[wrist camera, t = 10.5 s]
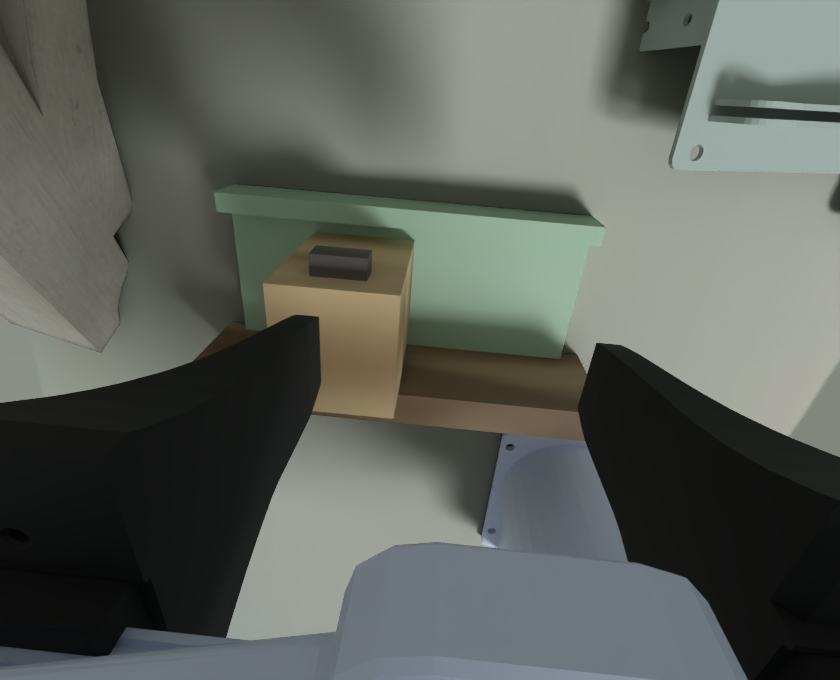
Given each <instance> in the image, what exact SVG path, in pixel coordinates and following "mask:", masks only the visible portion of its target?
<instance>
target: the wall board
mask: <svg viewBox="0 0 840 680" xmlns="http://www.w3.org/2000/svg"><path fill="white" fill-rule="evenodd" d="M258 332H260V330H250V329H246V327H245V323H235V322H231V323H230V324H229V325H228V326H227V327H226V328H225V329H224V330H223V331H222V332H221V333H220V334H219V335H218V336H217V337H216V338H215V339H214V340H213V341H212V342H211V343H210V344H209V345H208V346H207V347H206V348H205V350H204V351H203V352H202V353H201V354H200V355H199V356H198V357H197V358H196V359H195V360H194V361H196V360H199V359H201V358H204V357H206V356H209V355H211V354H213V353H216V352H218V351H220V350H222V349H224V348H227V347H229V346H231V345H233V344H236V343H238V342H240V341H242V340H244V339H246V338H248V337H250V336H252V335H254V334H256V333H258ZM586 377H587V374H586V372H585V370H584V368H583V366H582V364H581V362H580V360H579V358H578V356H577V355H572V354H561V358H560V359H554V358H544V357H533V356H523V355H512V354H502V353H491V352H481V351H470V350H460V349H449V348H439V347H428V346H418V345H407V347H406V352H405V358H404V363H403V369H402V375H401V380H400V386H399V391H398V397H397V402H396V408H395V413H394V419H390V418H380V417H369V416H359V415H348V414H338V413H328V412H317V411H312V413H311V414H312V415H322V416H332V417H342V418H352V419H363V420H373V421H383V422H393V423H403V424H413V425H424V426H434V427H444V428H454V429H464V430H474V431H485V432H495V433H505V434H515V435H525V436H535V437H546V438H556V439H566V440H576V441H585V439H584V435H583V431H582V427H581V423H580V418H579V413H578V408H577V407H578V404H579V401H580V397H581V394H582V390H583V387H584V384H585V380H586Z"/></svg>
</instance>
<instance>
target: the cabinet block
mask: <svg viewBox="0 0 840 680" xmlns="http://www.w3.org/2000/svg"><path fill="white" fill-rule="evenodd" d="M414 243H415V240H405V239H394V238H383V237H371V236H360V235H349V234H337V233H326V232H315V233H314V234H313V235H311V236H310V237H309V238H308V239H307V240H306V241H305V242H304V243H303V244H302V245H301V246H300V247H299V248H298V249H297V250H296V251H295V252H294V253H293V254H292V255H291V256H290V257H289V258H288V259H287V260H286V261H285V262H284V263H283V264H282V265H281V266H280V267H279V268H278V269H277V270H276V271H275V272H274V273H273V274H272V275H271V276H270V277H269V278H268V279H267V280H266V281H265V282H264V283H263V291H264V301H265V311H266V321H267V328H268V327H270V326H272V325H274V324H276V323H278V322H280V321H282V320H284V319H286V318H288V317H290V316H293V315H307V316H317V317H319V329H320V359H321V385H320V389H319V392H318V395H317V399H316V402H315V405H314V408H313V411H317V412H328V413H338V414H348V415H359V416H369V417H380V418H390V419H394V413H395V408H396V402H397V397H398V391H399V386H400V380H401V375H402V369H403V363H404V358H405V352H406V347H407V341H408V331H409V316H410V302H411V287H412V272H413V257H414Z"/></svg>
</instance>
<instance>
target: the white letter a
mask: <svg viewBox="0 0 840 680" xmlns="http://www.w3.org/2000/svg"><path fill="white" fill-rule="evenodd" d="M131 210H132V197H131V194H130V190H129V187H128V184H127V180H126V177H125V173H124V170H123V166H122V163H121V159H120V156H119V153H118V149H117V146H116V142H115V139H114V135H113V132H112V128H111V125H110V122H109V118H108V115H107V111H106V108H105V104H104V101H103V97H102V94H101V91H100V87H99V84H98V79H97V72H96V65H95V59H94V52H93V45H92V38H91V31H90V24H89V17H88V10H87V4H86V0H0V315H1V316H3V317H4V318H5V319H6V320H8V321H9V322H10V323H12V324H15V325H19V326H21V327H24V328H27V329H30V330H33V331H36V332H39V333H43V334H46V335H49V336H52V337H55V338H58V339H61V340H64V341H67V342H70V343H73V344H76V345H79V346H82V347H85V348H88V349H91V350H94V351H97V352H102V351H103V349H104V348H105V346H106V345H107V343H108V341H109V340H110V338H111V337H112V335H113V334H114V332H115V331H116V329H117V328H118V326H119V325H120V318H119V312H118V306H119V300H120V294H121V289H122V286H123V284H124V281H125V278H126V275H127V273H128V261H127V259H126V257H125V255H124V254H123V252H122V250H121V249H120V247H119V245H118V243H117V242H116V240H115V238H114V237H113V236H114V235H115V233H116V232H117V231H118V229H119V228H120V226H121V225H122V224H123V222H124V221H125V220H126V218H127V217H128V216H129V214H130V213H131Z"/></svg>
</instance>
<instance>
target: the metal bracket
mask: <svg viewBox="0 0 840 680" xmlns="http://www.w3.org/2000/svg"><path fill="white" fill-rule="evenodd" d="M648 1H651V2H650V6H649V11H648V15H647V19H646V22H649V23H650V26H649V29H648V31H647V32H646V33H643V36H642V41H641V45H640V49H639V51H653V50H662V49H671V48H681V47H690V46H699V45H702V46H701V49H700V53H699V56H698V60H697V63H696V67H695V70H694V73H693V77H692V80H691V84H690V87H689V91H688V94H687V98H686V101H685V104H684V108H683V111H682V115H681V118H680V122H679V125H678V129H677V132H676V135H675V139H674V142H673V146H672V149H671V153H670V156H669V163H668V164H669V166H670V168H672V169H675V170H695V171H741V172H786V173H831V174H840V0H648ZM691 15H692V19H691V22H690V23H689V24H688V19H689V17H690V16H691ZM696 145H698V146H699V148H700V150H699V154H698V156H697V157H696V158H695V159H694V160H691V159H690V152H691V150H692V148H693V147H695V146H696Z"/></svg>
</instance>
